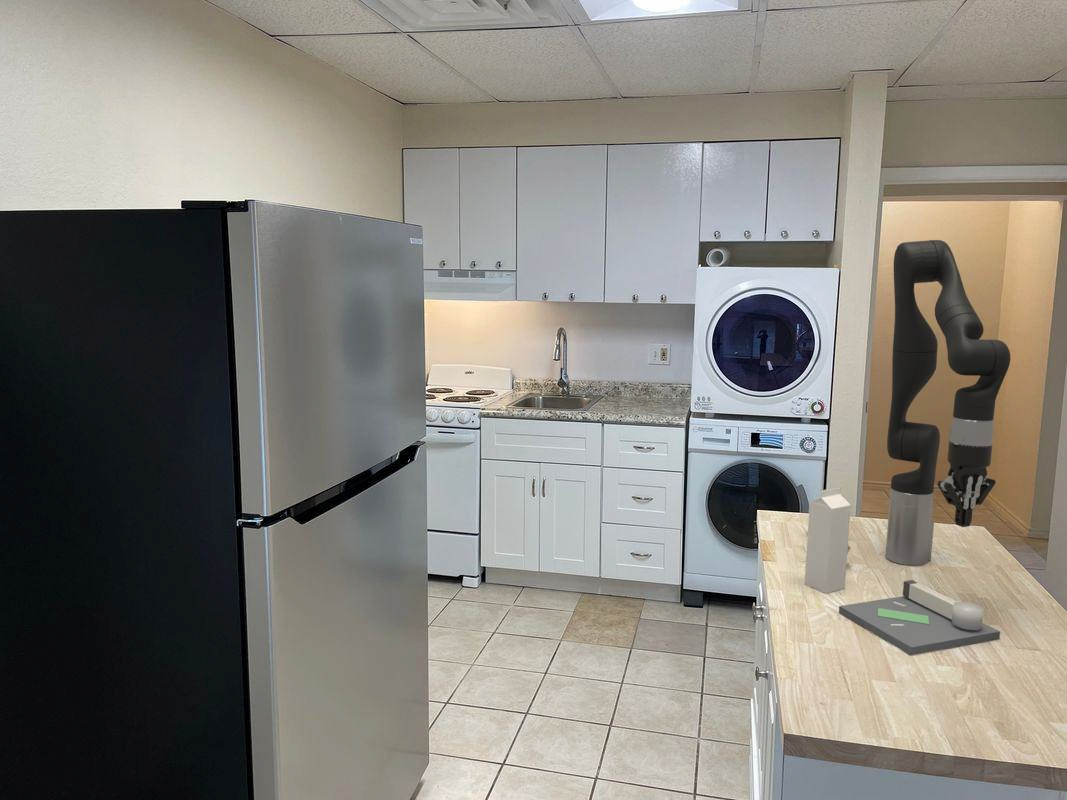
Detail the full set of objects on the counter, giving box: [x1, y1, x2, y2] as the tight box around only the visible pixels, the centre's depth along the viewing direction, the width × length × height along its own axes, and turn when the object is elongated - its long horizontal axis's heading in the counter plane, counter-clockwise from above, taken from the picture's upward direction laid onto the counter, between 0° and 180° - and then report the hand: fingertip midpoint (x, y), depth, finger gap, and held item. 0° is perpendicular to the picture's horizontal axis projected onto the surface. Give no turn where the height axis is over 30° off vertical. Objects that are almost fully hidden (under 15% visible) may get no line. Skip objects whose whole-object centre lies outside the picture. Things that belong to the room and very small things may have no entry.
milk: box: [804, 487, 851, 594], centre depth 174 cm, size 6×6×22 cm
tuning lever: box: [902, 579, 984, 630], centre depth 158 cm, size 18×5×4 cm, turn 19°
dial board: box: [838, 595, 1001, 656], centre depth 156 cm, size 21×19×2 cm
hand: (962, 525), depth 160 cm, fingers closed
